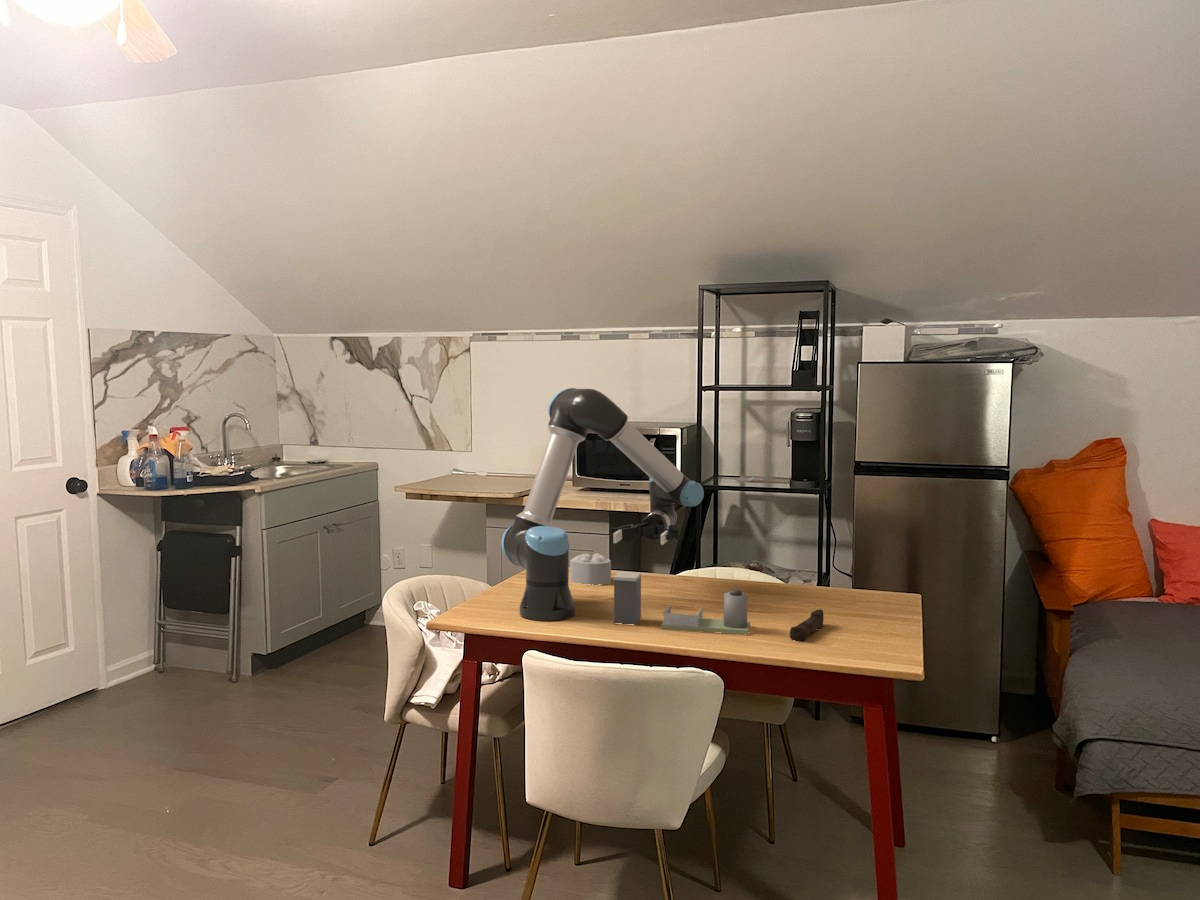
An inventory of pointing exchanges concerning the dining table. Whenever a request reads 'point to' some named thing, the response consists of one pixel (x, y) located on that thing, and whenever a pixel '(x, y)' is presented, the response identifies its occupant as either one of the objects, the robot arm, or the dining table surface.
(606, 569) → the lumpy-topped squat cylinder
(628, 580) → the grey block
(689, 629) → the desk organizer stand
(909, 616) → the dining table surface
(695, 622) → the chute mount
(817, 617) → the hand tool
